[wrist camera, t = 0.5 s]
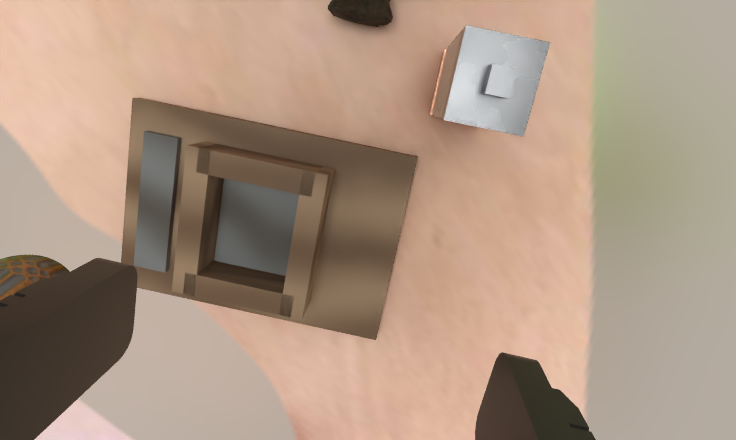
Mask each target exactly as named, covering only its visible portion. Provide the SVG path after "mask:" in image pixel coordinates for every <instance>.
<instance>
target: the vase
mask: <svg viewBox="0 0 736 440" xmlns="http://www.w3.org/2000/svg"><path fill="white" fill-rule="evenodd" d="M67 273H69V270H68V269H66V268H65V267H64V266H63V265H61V264H60V263H58V262H57V261H54V260H52V259H50V258H47V257H43V256H37V255H18V256H11V257H7V258H3V259H0V300H2V299H3V298H5V297H7V296H9V295H15V292H17V291H19V290H21V289H23V288H25V287H27V286H29V285H31V284H33V283H35V282H36V281H39V280H43V279H47V278H51V277H55V276H59V275H62V274H67Z"/></svg>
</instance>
